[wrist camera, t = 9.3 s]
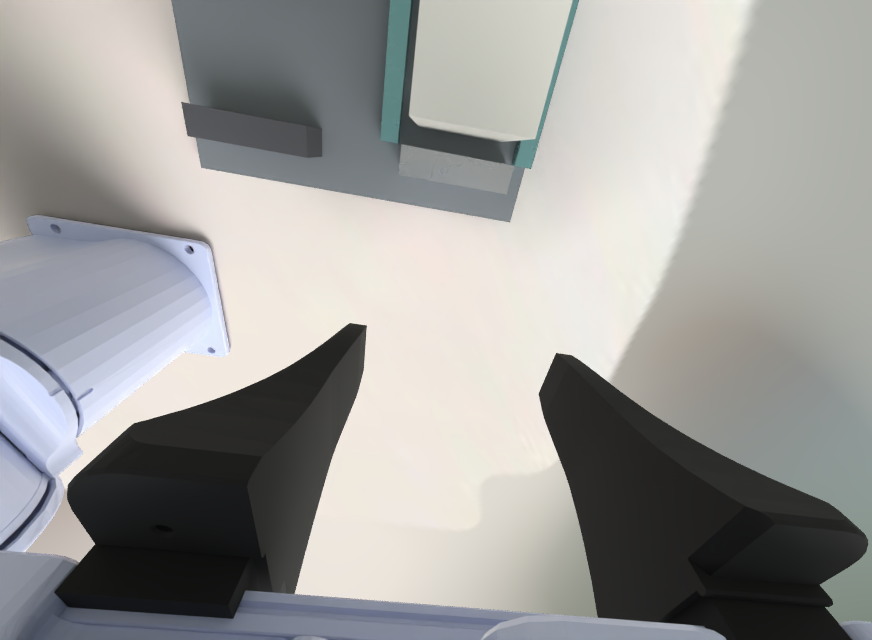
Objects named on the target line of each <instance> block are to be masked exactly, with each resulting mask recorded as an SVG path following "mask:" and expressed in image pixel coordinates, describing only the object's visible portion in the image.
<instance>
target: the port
mask: <svg viewBox="0 0 872 640" xmlns="http://www.w3.org/2000/svg"><path fill="white" fill-rule="evenodd" d="M578 2H579V0H573V1H572V5H571V9H570V12H569V16H568V20H567V24H566V27H565V31H564V35H563V38H562V42H561V46H560V49H559V53H558V57H557V61H556V64H555V68H554V72H553V75H552V79H551V83H550V87H549V90H548V94H547V98H546V101H545V105H544V109H543V112H542V116H541V120H540V124H539V127H538V131H537V135H536V138H535V139H531V140H519V141H517V145H516V149H515V153H514V156H513V160H512V164H511V165H508V164H504V163H499V162H493V161H488V160H483V159H478V158H473V157H467V156H462V155H457V154H452V153H446V152H441V151H436V150H431V149H426V148H420V147H415V146H410V145H404V144H401V154H400V164H399V174H398V175H403V176H408V177H414V178H419V179H425V180H430V181H436V182H441V183H446V184H452V185H457V186H463V187H468V188H474V189H479V190H485V191H490V192H495V193H501V194H506V195H507V192H508V188H509V184H510V180H511V176H512V172H513V168H514V166H519V167H524V168H529V169H531V167H532V164H533V160H534V157H535V153H536V150H537V146H538V143H539V139H540V136H541V132H542V129H543V125H544V122H545V118H546V114H547V111H548V107H549V104H550V100H551V97H552V93H553V90H554V86H555V83H556V79H557V76H558V72H559V69H560V65H561V62H562V58H563V55H564V51H565V48H566V44H567V41H568V37H569V34H570V30H571V27H572V23H573V20H574V16H575V13H576V9H577V6H578ZM412 9H413V0H390V10H389V24H388V38H387V53H386V67H385V81H384V95H383V109H382V123H381V138H380V140H383V141H388V142H393V143H400V133H401V123H402V112H403V102H404V92H405V81H406V71H407V61H408V50H409V40H410V30H411V20H412ZM513 165H514V166H513Z"/></svg>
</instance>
